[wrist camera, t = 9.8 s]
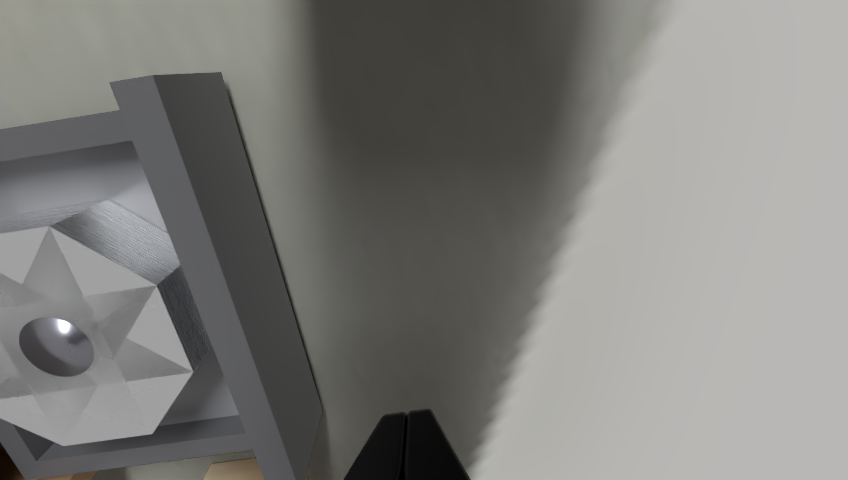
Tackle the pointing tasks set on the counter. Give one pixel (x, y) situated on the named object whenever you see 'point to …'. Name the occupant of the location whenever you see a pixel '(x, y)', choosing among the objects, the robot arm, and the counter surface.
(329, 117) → the counter surface
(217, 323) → the tray
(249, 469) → the block
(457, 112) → the counter surface
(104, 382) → the octagonal prism
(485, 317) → the counter surface
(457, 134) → the counter surface
